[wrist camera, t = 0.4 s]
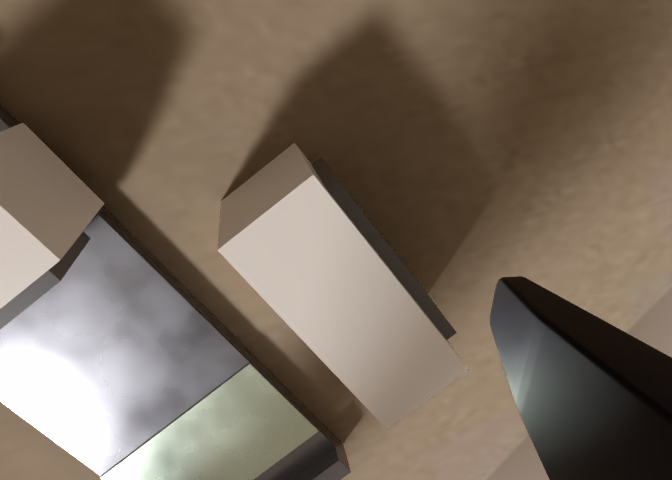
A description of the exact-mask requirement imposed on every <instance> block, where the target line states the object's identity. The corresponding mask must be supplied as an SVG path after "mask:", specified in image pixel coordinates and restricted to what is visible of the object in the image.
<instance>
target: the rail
mask: <svg viewBox="0 0 672 480" xmlns="http://www.w3.org/2000/svg"><path fill="white" fill-rule="evenodd" d="M18 124H19V123H18V122H17V121H16V120H15V119H14V118H13V117H12V116H11V115H10V114H9V113H8V112H7V111H6V110H5V109H4V108H3V107H2V106H1V105H0V132H1V131H3V130H6V129H8V128H11V127H13V126H16V125H18ZM83 232H85V233H86V234H87V235H88V236H89V237H90V238H91V239H90V240H89V242H88V243H87V245H86V246H85V247H84V249H83V250H82V252H81V253H80V254H79V256H78V257H77V259H76V260H75V261H74V263H73V264H72V266H71V267H70V268H69V270H68V271H67V273H66V274H65V276H64V277H63V278H62V280H61V281H60V282H59V283H58V284H56V285H55V286H54V287H53V288H51V289H50V290H49V291H48V292H46V293H45V294H44V295H43V296H41V297H40V298H39V299H38V300H36V301H35V302H34V303H33V304H32V305H30V306H29V307H28V308H27V309H25V310H24V311H23V312H22V313H20V314H19V315H18V316H17V317H15V318H14V319H13V320H12V321H10V322H9V323H8V324H7V325H5V326H4V327H3V328H2V329H0V402H2V403H3V404H4V405H6V406H7V407H8V408H10V409H11V410H12V411H14V412H15V413H16V414H18V415H19V416H20V417H22V418H23V419H24V420H26V421H27V422H28V423H30V424H31V425H32V426H34V427H35V428H36V429H38V430H39V431H40V432H42V433H43V434H45V435H46V436H47V437H49V438H50V439H51V440H53V441H54V442H55V443H57V444H58V445H59V446H61V447H62V448H63V449H65V450H66V451H67V452H69V453H70V454H71V455H73V456H74V457H75V458H77V459H78V460H79V461H81V462H82V463H83V464H85V465H86V466H87V467H89V468H90V469H91V470H93V471H94V472H95V473H97V474H98V475H99V476H101V477H100V478H101V479H102V480H341V479H342V478H343V477H345V476H346V475H347V474H349V473H350V472H351V471H350V468H349V464H348V460H347V457H346V453H345V449H344V445H343V444H342V443H341V442H340V441H339V440H338V439H337V438H336V437H335V436H334V435H333V434H332V433H331V432H330V431H329V430H328V429H327V428H326V427H325V426H324V425H323V424H322V423H321V422H320V421H319V420H318V419H317V418H316V417H315V416H314V415H313V414H312V413H311V412H310V411H309V410H308V409H307V408H306V407H305V406H304V405H303V404H302V403H301V402H300V401H299V400H298V399H297V398H296V397H295V396H294V395H293V394H292V393H291V392H290V391H289V390H288V389H287V388H286V387H285V386H284V385H283V384H282V383H281V382H280V381H279V380H278V379H277V378H276V377H275V376H274V375H273V374H272V373H271V372H270V371H269V370H268V369H267V368H266V367H265V366H264V365H263V364H262V363H261V362H259V361H258V360H257V359H256V358H255V357H254V356H253V355H252V354H251V353H250V352H249V351H248V350H247V349H246V348H245V347H244V346H243V345H242V344H241V343H240V342H239V341H238V340H237V339H236V338H235V337H234V336H233V335H232V334H231V333H230V332H229V331H228V330H227V329H226V328H225V327H224V326H223V325H222V324H221V323H220V322H219V321H218V320H217V319H216V318H215V317H214V316H213V315H212V314H211V313H210V312H209V311H208V310H207V309H206V308H205V307H204V306H203V305H202V304H201V303H200V302H199V301H198V300H197V299H196V298H195V297H194V296H193V295H192V294H191V293H190V292H189V291H188V290H187V289H186V288H185V287H184V286H183V285H182V284H181V283H180V282H179V281H178V280H177V279H176V278H175V277H174V276H173V275H172V274H171V273H170V272H169V271H168V270H167V269H166V268H165V267H164V266H163V265H162V264H160V263H159V262H158V261H157V260H156V259H155V258H154V257H153V256H152V255H151V254H150V253H149V252H148V251H147V250H146V249H145V248H144V247H143V246H142V245H141V244H140V243H139V242H138V241H137V240H136V239H135V238H134V237H133V236H132V235H131V234H130V233H129V232H128V231H127V230H126V229H125V228H124V227H123V226H122V225H121V224H120V223H119V222H118V221H117V220H116V219H115V218H114V217H113V216H112V215H111V214H110V213H109V212H108V211H107V210H106V209H105V208H104V207H103V206H102V207H101V209H100V210H99V211H98V212H97V214H96V215H95V216H94V218H93V219H92V220H91V222H90V223H89V224H88V225H87V227H86V228H85V229H84V231H83Z"/></svg>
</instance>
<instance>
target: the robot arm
mask: <svg viewBox="0 0 672 480" xmlns="http://www.w3.org/2000/svg"><path fill="white" fill-rule="evenodd" d="M490 325H491V330H492V333H493V336H494V339H495V342H496V345H497V349H498V352H499V355H500V358H501V361H502V364H503V367H504V371H505V374H506V377H507V380H508V383H509V386H510V389H511V392H512V395H513V398H514V401H515V404H516V406H517V408H518V411H519V413H520V415H521V418H522V420H523V422H524V424H525V426H526V429H527V431H528V433H529V435H530V437H531V440H532V442H533V444H534V446H535V449H536V451H537V453H538V455H539V457H540V460H541V462H542V464H543V466H544V468H545V470H546V473H547V475H548V477H549V479H550V480H672V358H671V357H669V356H667V355H666V354H664V353H662V352H660V351H658V350H657V349H655V348H653V347H651V346H649V345H647V344H646V343H644V342H642V341H640V340H638V339H636V338H634V337H633V336H631V335H629V334H627V333H626V332H624V331H622V330H620V329H618V328H616V327H615V326H613V325H611V324H609V323H607V322H605V321H604V320H602V319H600V318H598V317H596V316H594V315H593V314H591V313H589V312H587V311H585V310H583V309H582V308H580V307H578V306H576V305H574V304H572V303H571V302H569V301H567V300H565V299H563V298H561V297H560V296H558V295H556V294H554V293H552V292H550V291H549V290H547V289H545V288H543V287H541V286H539V285H538V284H536V283H534V282H532V281H530V280H529V279H527V278H525V277H521V276H519V277H503V278H501V279H499V280H498V282H497V285H496V289H495V294H494V299H493V304H492V308H491V313H490Z"/></svg>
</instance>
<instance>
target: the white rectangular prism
mask: <svg viewBox="0 0 672 480" xmlns="http://www.w3.org/2000/svg"><path fill="white" fill-rule="evenodd" d="M218 251H219V252H220V253H221V254H222V255H223V256H224V258H225V259H226V260H227V261H228V262H229V263H230V264H231V265H232V266H233V267H234V268H235V269H236V270H237V271H238V272H239V273H240V274H241V276H242V277H243V278H244V279H245V280H246V281H247V282H248V283H249V284H250V285H251V286H252V287H253V288H254V289H255V290H256V291H257V293H258V294H259V295H260V296H261V297H262V298H263V299H264V300H265V301H266V302H267V303H268V304H269V305H270V306H271V307H272V308H273V309H274V311H275V312H276V313H277V314H278V315H279V316H280V317H281V318H282V319H283V320H284V321H285V322H286V323H287V324H288V325H289V326H290V327H291V329H292V330H293V331H294V332H295V333H296V334H297V335H298V336H299V337H300V338H301V339H302V340H303V341H304V342H305V343H306V344H307V345H308V347H309V348H310V349H311V350H312V351H313V352H314V353H315V354H316V355H317V356H318V357H319V358H320V359H321V360H322V361H323V362H324V363H325V365H326V366H327V367H328V368H329V369H330V370H331V371H332V372H333V373H334V374H335V375H336V376H337V377H338V378H339V379H340V380H341V381H342V383H343V384H344V385H345V386H346V387H347V388H348V389H349V390H350V391H351V392H352V393H353V394H354V395H355V396H356V397H357V398H358V400H359V401H360V402H361V403H362V404H363V405H364V406H365V407H366V408H367V409H368V410H369V411H370V412H371V413H372V414H373V415H374V416H375V418H376V419H377V420H378V421H379V422H380V423H381V424H382V425H383V426H384V427H385V428H386V429H387V430H388V429H389V428H390V427H392V426H393V425H395V424H396V423H397V422H399V421H400V420H401V419H403V418H404V417H405V416H407V415H408V414H410V413H411V412H412V411H414V410H415V409H416V408H418V407H419V406H420V405H422V404H423V403H424V402H426V401H427V400H429V399H430V398H431V397H433V396H434V395H435V394H437V393H438V392H439V391H441V390H442V389H444V388H445V387H446V386H448V385H449V384H450V383H452V382H453V381H454V380H456V379H457V378H459V377H460V376H461V375H463V374H464V373H465V372H467V371H468V370H469V369H468V368H467V366H466V365H465V364H464V362H463V361H462V359H461V358H460V357H459V355H458V354H457V352H456V351H455V350H454V348H453V347H452V345H451V344H450V342H449V341H448V340H447V339H449V338H450V337H451V336H453V335H454V334H455V333H456V331H455V330H454V329H453V327H452V326H451V325H450V323H449V322H448V321H447V319H446V318H445V317H444V315H443V314H442V313H441V311H440V310H439V309H438V308H437V306H436V305H435V304H434V302H433V301H432V300H431V298H430V297H429V296H428V294H427V293H426V292H425V290H424V289H423V288H422V287H421V285H420V284H419V283H418V281H417V280H416V279H415V278H414V276H413V275H412V274H411V272H410V271H409V270H408V269H407V267H406V266H405V265H404V263H403V262H402V261H401V260H400V258H399V257H398V256H397V254H396V253H395V252H394V251H393V249H392V248H391V247H390V245H389V244H388V243H387V242H386V240H385V239H384V238H383V236H382V235H381V234H380V233H379V231H378V230H377V229H376V227H375V226H374V225H373V224H372V222H371V221H370V220H369V218H368V217H367V216H366V215H365V213H364V212H363V211H362V209H361V208H360V207H359V206H358V204H357V203H356V202H355V200H354V199H353V198H352V197H351V195H350V194H349V193H348V191H347V190H346V189H345V188H344V186H343V185H342V184H341V182H340V181H339V180H338V179H337V177H336V176H335V175H334V173H333V172H332V171H331V170H330V168H329V167H328V166H327V164H326V163H325V162H324V161H323V159H322V158H320V159H319V160H318V161H316V162H315V163H314V164H313V165H312V164H311V163H310V161H309V160H308V159H307V158H306V156H305V155H304V154H303V153H302V151H301V150H300V149H299V148H298V146H297V145H296V144H295V143H293V144H292V145H291V146H289V147H288V148H287V149H286V150H284V151H283V152H282V153H281V154H279V155H278V156H277V157H276V158H274V159H273V160H272V161H271V162H269V163H268V164H267V165H266V166H264V167H263V168H262V169H261V170H259V171H258V172H257V173H256V174H254V175H253V176H252V177H251V178H249V179H248V180H247V181H246V182H244V183H243V184H242V185H241V186H239V187H238V188H237V189H235V190H234V191H233V192H232V193H230V194H229V195H228V196H227V197H225V198H224V199H223V200H222V201H221V208H220V222H219V236H218Z"/></svg>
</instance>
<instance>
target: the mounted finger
mask: <svg viewBox="0 0 672 480" xmlns="http://www.w3.org/2000/svg"><path fill="white" fill-rule="evenodd" d="M103 205H104V202H103V201H102V200H101V199H100V198H99V197H98V196H97V195H96V194H95V193H94V192H93V191H92V190H91V189H90V188H89V187H88V186H86V185H85V184H84V183H83V182H82V181H81V180H80V179H79V178H78V177H77V176H76V175H75V174H74V173H73V172H72V171H71V170H70V169H69V168H68V167H67V166H66V165H65V164H64V163H63V162H62V161H61V160H60V159H59V158H58V157H57V156H56V155H55V154H54V153H53V152H52V151H51V150H50V149H49V148H48V147H47V146H46V145H45V144H44V143H43V142H42V141H41V140H40V139H39V138H38V137H37V136H36V135H35V134H34V133H33V132H32V131H31V130H30V129H29V128H28V127H27V126H26V125H25V124H24V123H21V124H18V125H16V126H13V127H11V128H8V129H6V130H3V131H1V132H0V329H2V328H3V327H4V326H5V325H7V324H8V323H9V322H10V321H12V320H13V319H14V318H15V317H17V316H18V315H19V314H20V313H22V312H23V311H24V310H25V309H27V308H28V307H29V306H30V305H32V304H33V303H34V302H35V301H36V300H38V299H39V298H40V297H41V296H43V295H44V294H45V293H46V292H48V291H49V290H50V289H51V288H53V287H54V286H55V285H56V284H58V283H59V282H60V281H61V280H62V278H63V277H64V276H65V274H66V273H67V271H68V270H69V268H70V267H71V266H72V264H73V263H74V261H75V260H76V259H77V257H78V256H79V254H80V253H81V252H82V250H83V249H84V247H85V246H86V245H87V243H88V242H89V240H90V239H91V238H90V237H89V236H88V235H87V234H86V233H85V232H83V231H84V229H85V228H86V227H87V225H88V224H89V223H90V222H91V220H92V219H93V218H94V216H95V215H96V214H97V212H98V211H99V210H100V209H101V207H102V206H103Z"/></svg>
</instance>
